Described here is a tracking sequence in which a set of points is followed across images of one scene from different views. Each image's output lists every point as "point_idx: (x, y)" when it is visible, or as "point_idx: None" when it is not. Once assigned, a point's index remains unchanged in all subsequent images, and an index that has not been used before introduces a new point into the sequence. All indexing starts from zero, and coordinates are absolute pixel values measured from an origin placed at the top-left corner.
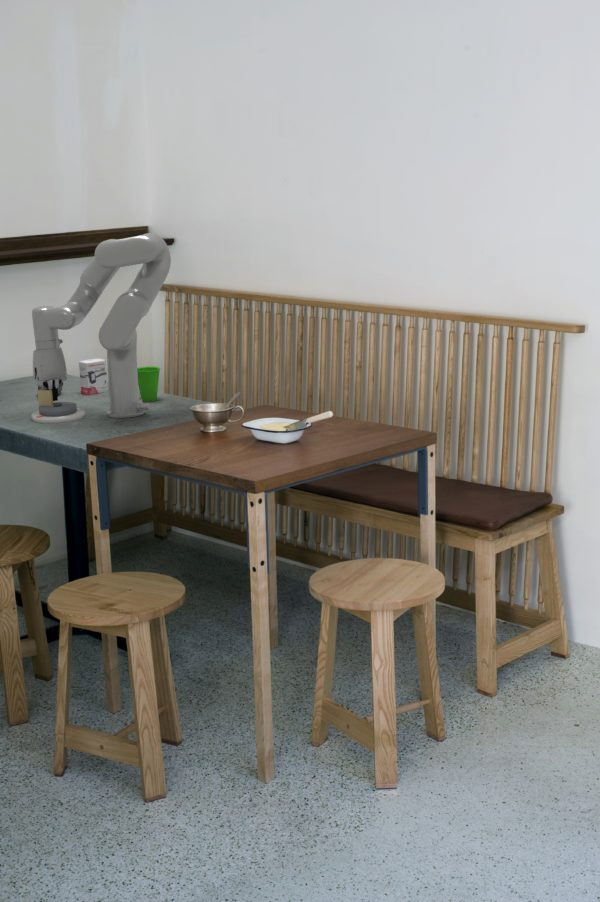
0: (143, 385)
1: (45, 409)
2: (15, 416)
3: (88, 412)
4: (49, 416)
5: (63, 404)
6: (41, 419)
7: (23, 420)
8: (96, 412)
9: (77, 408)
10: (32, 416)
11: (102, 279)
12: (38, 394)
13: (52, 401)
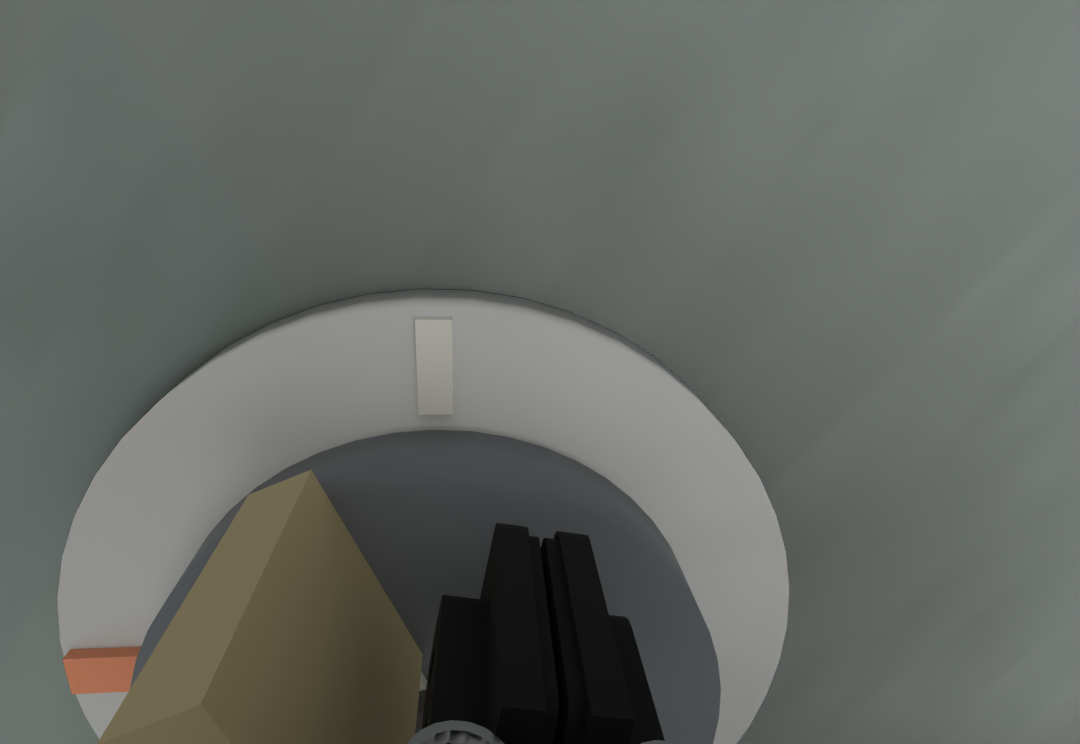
0: None
1: None
2: (29, 25)
3: (815, 659)
4: None
5: None
6: (105, 722)
7: (6, 393)
8: (851, 716)
9: (760, 637)
10: (62, 559)
11: None
12: (161, 662)
13: (408, 712)
